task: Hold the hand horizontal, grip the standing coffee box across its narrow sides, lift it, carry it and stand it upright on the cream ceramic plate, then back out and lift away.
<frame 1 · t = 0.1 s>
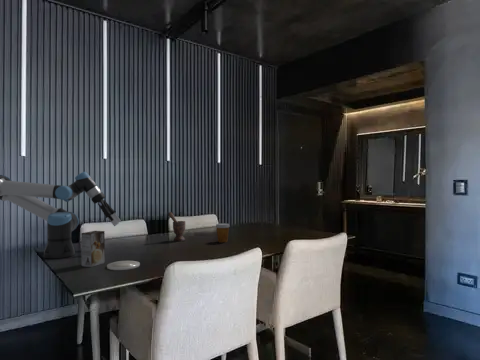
hand: (117, 223, 209), 15 cm above the table, tool tilted 35°, fingers open, 13 cm apart
mortar and pestle: (177, 241, 238), on the table
disposable coffee cup: (222, 242, 235), on the table
plate: (123, 266, 167), on the table
coffee box: (93, 264, 170), on the table
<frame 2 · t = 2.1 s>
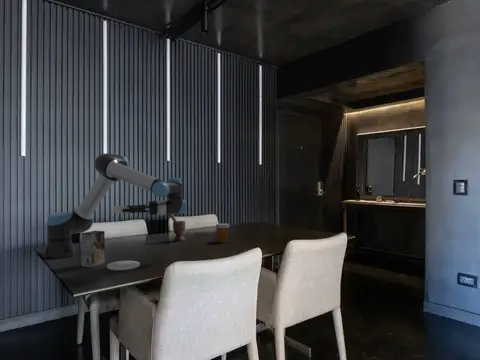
hand: (114, 209, 174), 27 cm above the table, tool horizontal, fingers open, 13 cm apart
nothing on the table moved.
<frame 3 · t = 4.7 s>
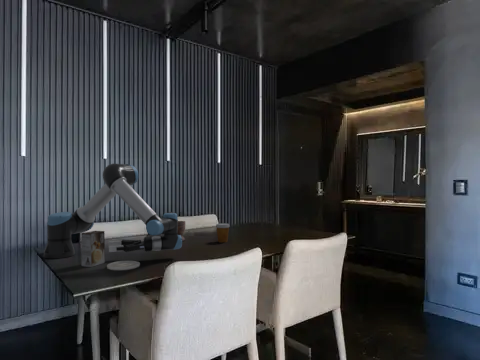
hand: (108, 246, 173), 8 cm above the table, tool horizontal, fingers open, 13 cm apart
nothing on the table moved.
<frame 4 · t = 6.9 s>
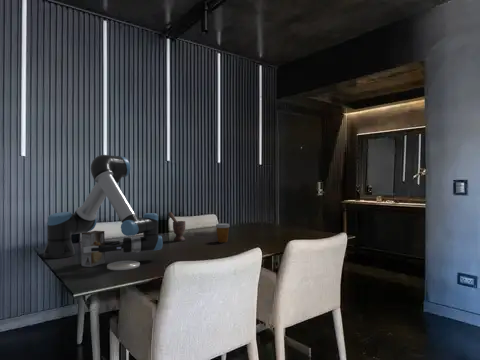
hand: (83, 247, 169), 9 cm above the table, tool horizontal, fingers closed on coffee box, 10 cm apart
coffee box: (93, 264, 170), on the table, touching gripper
everything else where it was.
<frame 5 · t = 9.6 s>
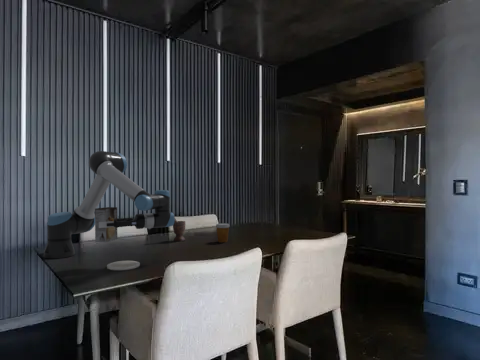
hand: (97, 223, 166), 21 cm above the table, tool horizontal, fingers closed on coffee box, 10 cm apart
coffee box: (106, 241, 168), point 12 cm above the table, touching gripper
everything else where it was.
when the fingers open (11 cm above the table, at t = 12.5 s): coffee box drops 1 cm, resting on plate.
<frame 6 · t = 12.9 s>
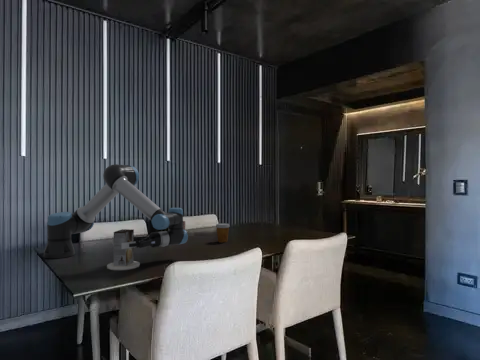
hand: (116, 243, 165), 11 cm above the table, tool horizontal, fingers open, 13 cm apart
coffee box: (123, 264, 167), point 1 cm above the table, touching plate
everything else where it was.
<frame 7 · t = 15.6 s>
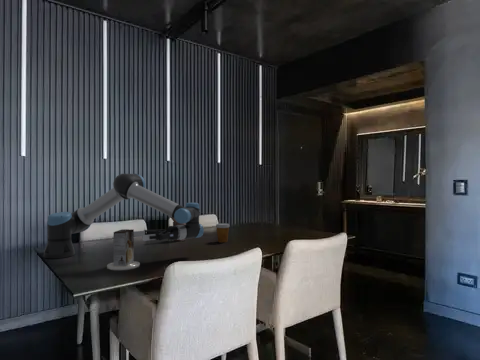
hand: (137, 236, 171), 14 cm above the table, tool horizontal, fingers open, 13 cm apart
nothing on the table moved.
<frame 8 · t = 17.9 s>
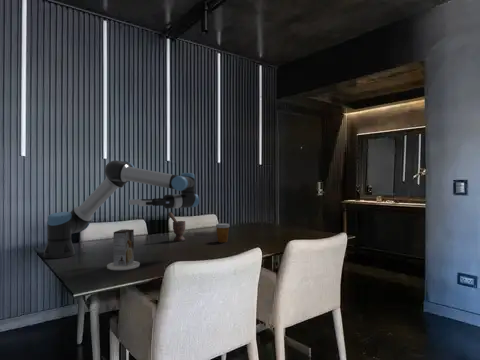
hand: (133, 202, 176), 30 cm above the table, tool horizontal, fingers open, 13 cm apart
nothing on the table moved.
at the end: coffee box inside the target area on the plate (0.1 cm from its centre), point 1.0 cm above the plate's base; coffee box tilted 0°; the gripper is holding nothing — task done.
